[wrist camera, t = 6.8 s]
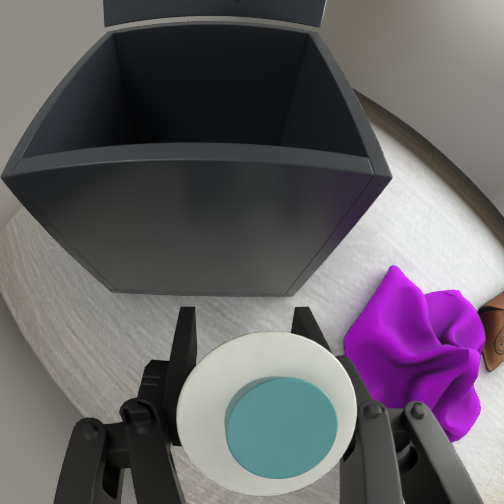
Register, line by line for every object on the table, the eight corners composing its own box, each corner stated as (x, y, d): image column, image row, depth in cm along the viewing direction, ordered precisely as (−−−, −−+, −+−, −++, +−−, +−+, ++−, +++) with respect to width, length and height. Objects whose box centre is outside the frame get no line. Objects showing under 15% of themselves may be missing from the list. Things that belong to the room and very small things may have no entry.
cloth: (344, 259, 24) (377, 226, 18) (475, 282, 25) (511, 262, 19) (319, 508, 14) (349, 540, 9) (467, 467, 15) (506, 471, 10)
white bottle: (201, 428, 15) (175, 521, 4) (200, 353, 17) (165, 320, 6) (281, 425, 16) (380, 495, 4) (278, 352, 18) (378, 315, 7)
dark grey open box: (292, 296, 22) (393, 177, 8) (111, 292, 20) (-1, 177, 7) (279, 164, 27) (317, 32, 14) (137, 162, 26) (107, 31, 12)
